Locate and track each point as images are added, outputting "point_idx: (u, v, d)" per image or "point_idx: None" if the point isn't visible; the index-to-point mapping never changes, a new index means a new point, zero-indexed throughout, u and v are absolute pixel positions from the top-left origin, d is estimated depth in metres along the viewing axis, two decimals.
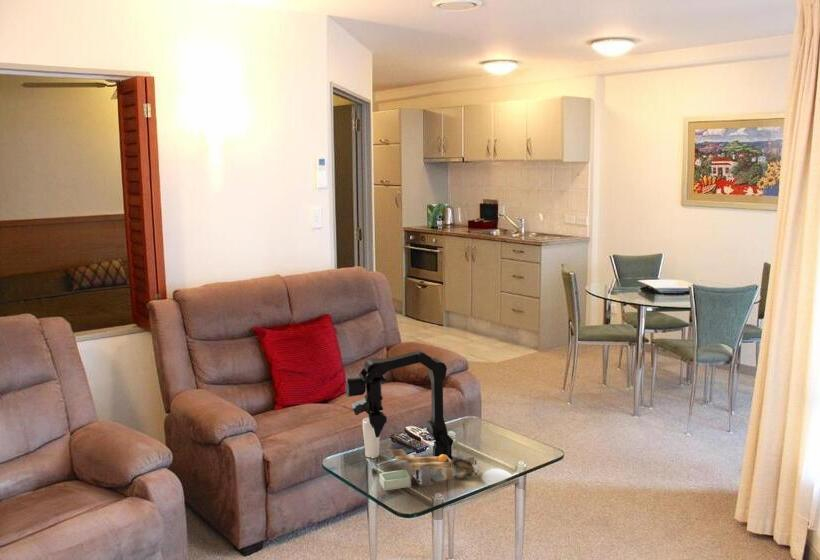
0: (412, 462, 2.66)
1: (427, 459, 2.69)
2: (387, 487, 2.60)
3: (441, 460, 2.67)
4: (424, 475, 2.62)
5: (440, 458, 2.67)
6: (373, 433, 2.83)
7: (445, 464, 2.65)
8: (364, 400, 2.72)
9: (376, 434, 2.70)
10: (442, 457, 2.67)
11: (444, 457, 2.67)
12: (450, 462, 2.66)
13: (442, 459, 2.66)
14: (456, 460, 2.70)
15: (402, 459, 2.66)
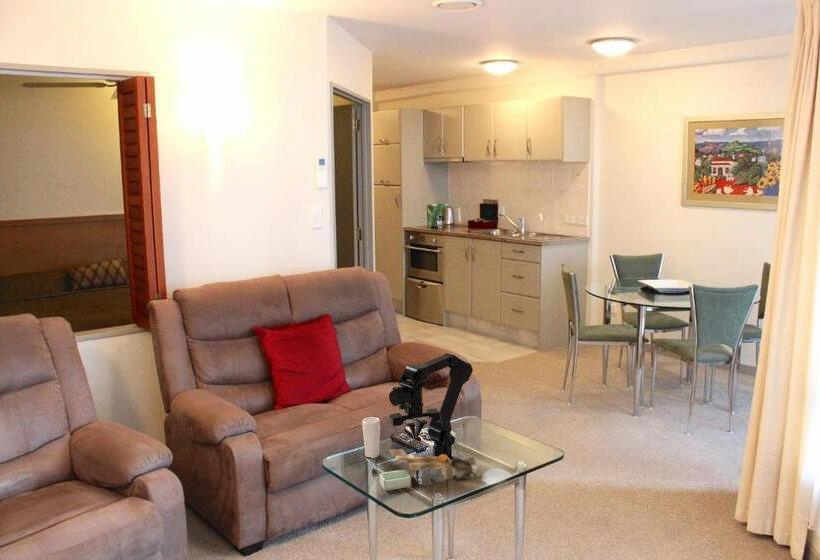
0: (412, 462, 2.66)
1: (427, 459, 2.69)
2: (387, 487, 2.60)
3: (441, 460, 2.67)
4: (424, 475, 2.62)
5: (440, 458, 2.67)
6: (373, 433, 2.83)
7: (445, 464, 2.65)
8: None
9: (412, 435, 2.74)
10: (442, 457, 2.67)
11: (444, 457, 2.67)
12: (450, 462, 2.66)
13: (442, 459, 2.66)
14: (454, 460, 2.70)
15: (402, 459, 2.66)
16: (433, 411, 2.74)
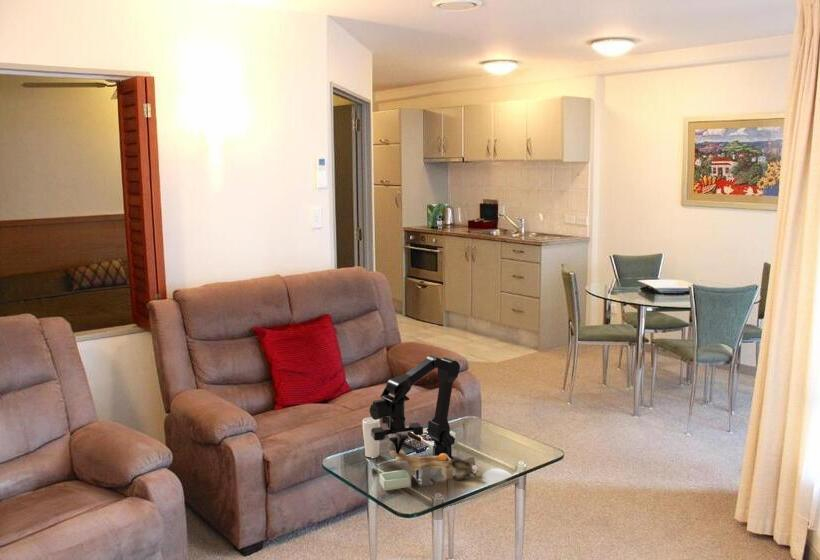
0: (412, 462, 2.66)
1: (427, 459, 2.69)
2: (387, 487, 2.60)
3: (441, 459, 2.66)
4: (424, 475, 2.62)
5: (440, 457, 2.67)
6: None
7: (445, 463, 2.65)
8: None
9: (395, 449, 2.71)
10: (442, 456, 2.67)
11: (444, 456, 2.67)
12: (450, 461, 2.66)
13: (442, 459, 2.66)
14: (455, 461, 2.70)
15: (402, 460, 2.66)
16: (415, 425, 2.71)
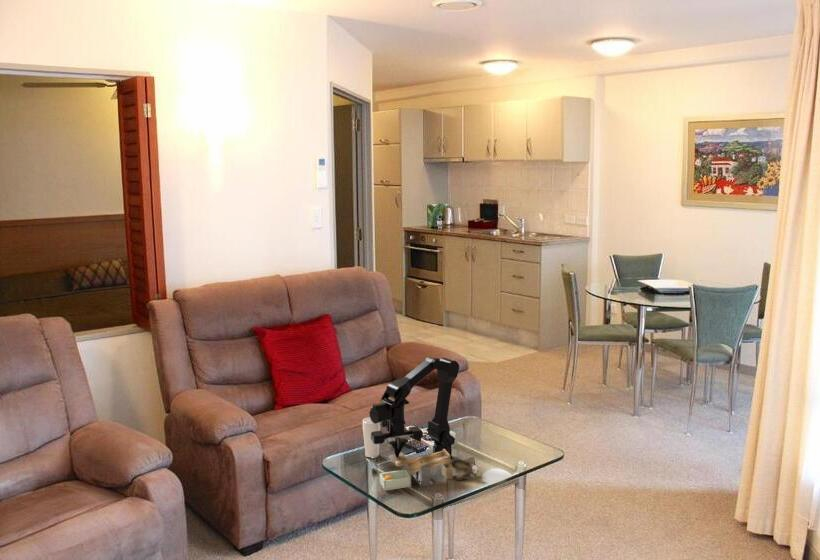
0: (412, 464, 2.66)
1: (426, 458, 2.68)
2: (387, 487, 2.60)
3: None
4: (424, 475, 2.62)
5: None
6: None
7: (445, 459, 2.65)
8: None
9: None
10: (385, 480, 2.62)
11: (387, 479, 2.62)
12: (449, 456, 2.65)
13: None
14: (455, 461, 2.69)
15: (401, 464, 2.66)
16: (415, 429, 2.71)
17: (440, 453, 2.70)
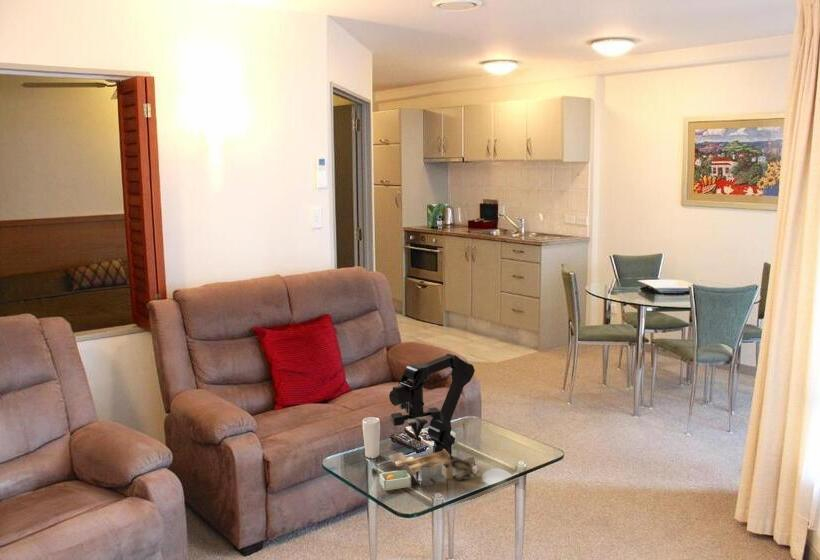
0: (412, 464, 2.66)
1: (426, 458, 2.68)
2: (387, 487, 2.60)
3: None
4: (424, 475, 2.62)
5: None
6: (373, 433, 2.83)
7: (445, 459, 2.65)
8: None
9: (414, 434, 2.75)
10: (389, 478, 2.62)
11: (391, 478, 2.62)
12: (449, 456, 2.65)
13: None
14: (455, 461, 2.69)
15: (401, 464, 2.66)
16: (434, 410, 2.75)
17: (440, 453, 2.70)
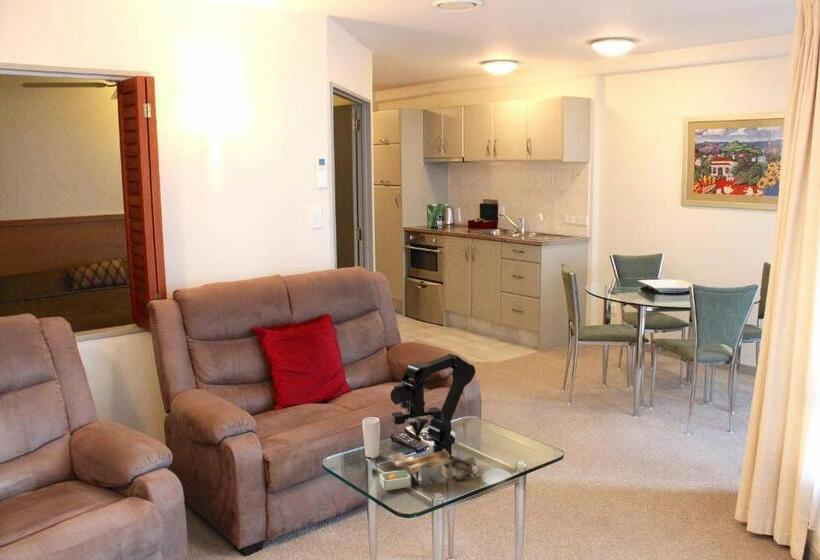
0: (412, 464, 2.66)
1: (426, 458, 2.68)
2: (387, 487, 2.60)
3: None
4: (424, 475, 2.62)
5: (390, 478, 2.62)
6: (373, 433, 2.83)
7: (445, 459, 2.65)
8: None
9: None
10: (392, 477, 2.62)
11: (394, 478, 2.62)
12: (449, 456, 2.65)
13: None
14: (455, 461, 2.69)
15: (401, 464, 2.66)
16: (435, 410, 2.75)
17: (440, 453, 2.70)
